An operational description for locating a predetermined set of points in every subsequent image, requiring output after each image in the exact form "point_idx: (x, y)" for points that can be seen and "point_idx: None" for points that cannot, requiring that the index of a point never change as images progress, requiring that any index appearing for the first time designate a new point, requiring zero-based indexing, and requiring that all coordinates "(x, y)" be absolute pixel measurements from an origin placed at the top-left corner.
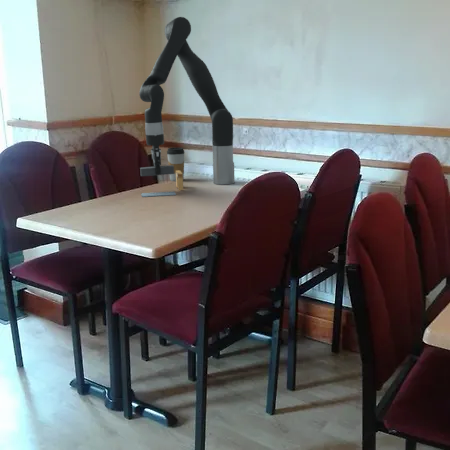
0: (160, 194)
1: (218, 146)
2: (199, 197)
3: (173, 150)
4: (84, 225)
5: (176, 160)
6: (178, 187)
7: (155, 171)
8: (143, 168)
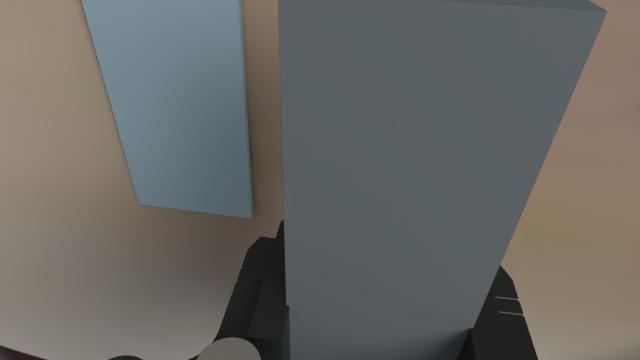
0: (136, 97)
1: None
2: (67, 285)
3: None
4: None
5: None
6: None
7: (272, 250)
8: (327, 90)
